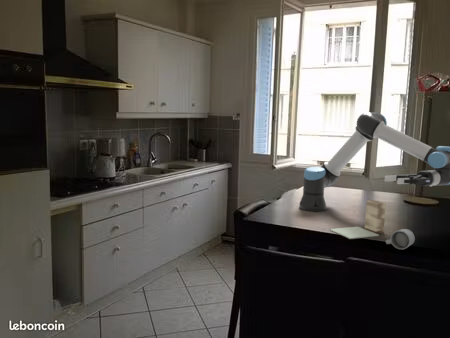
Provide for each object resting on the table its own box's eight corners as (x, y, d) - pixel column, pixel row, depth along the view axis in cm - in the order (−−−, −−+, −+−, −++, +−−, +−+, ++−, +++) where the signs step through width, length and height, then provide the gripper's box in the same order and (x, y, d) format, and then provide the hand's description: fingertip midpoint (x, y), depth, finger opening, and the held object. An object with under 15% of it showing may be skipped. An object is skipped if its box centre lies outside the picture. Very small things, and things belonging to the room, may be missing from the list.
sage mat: (357, 227, 194) (357, 226, 194) (378, 235, 181) (379, 234, 181) (330, 230, 188) (330, 229, 188) (350, 239, 175) (350, 237, 175)
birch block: (372, 228, 193) (375, 200, 191) (383, 232, 187) (386, 203, 185) (364, 229, 191) (366, 200, 189) (375, 233, 185) (377, 203, 183)
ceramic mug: (415, 246, 167) (416, 228, 166) (409, 251, 161) (410, 232, 160) (389, 241, 174) (390, 224, 173) (382, 245, 168) (383, 227, 167)
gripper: (444, 189, 189) (407, 191, 180) (410, 182, 207) (375, 184, 199) (446, 173, 188) (409, 175, 179) (411, 168, 206) (376, 169, 198)
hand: (391, 179), depth 189 cm, fingers open, 7 cm apart
